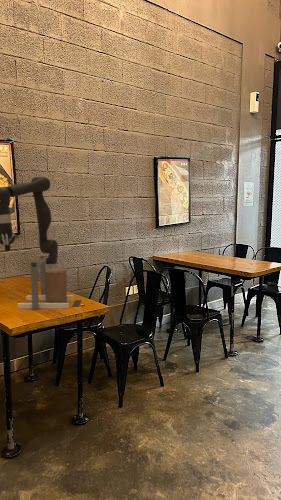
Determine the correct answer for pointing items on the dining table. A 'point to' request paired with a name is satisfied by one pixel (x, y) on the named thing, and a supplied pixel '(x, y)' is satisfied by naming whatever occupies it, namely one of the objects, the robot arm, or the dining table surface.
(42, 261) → the arch
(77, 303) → the pad
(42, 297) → the walled lane
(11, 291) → the dining table surface
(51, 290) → the wooden block
